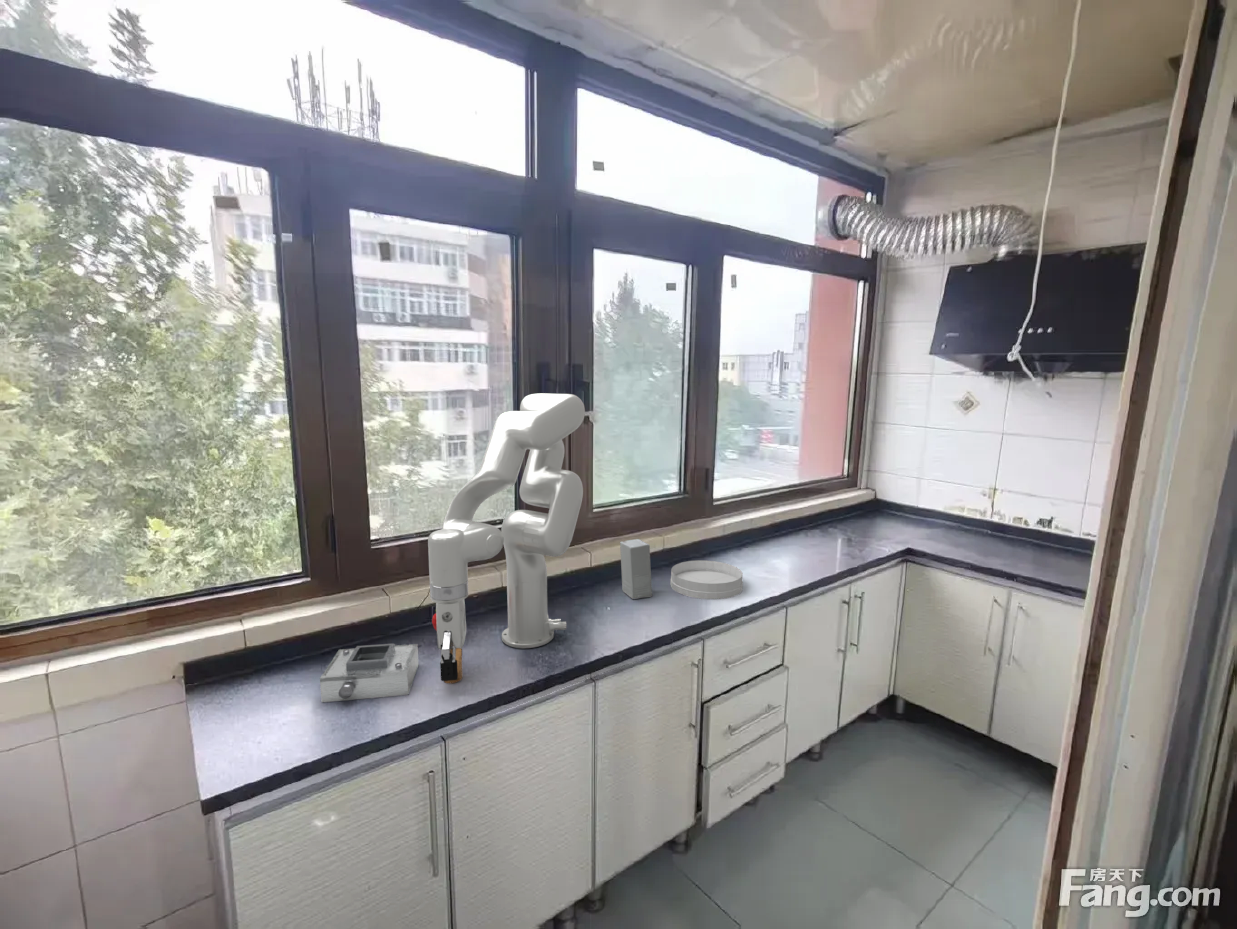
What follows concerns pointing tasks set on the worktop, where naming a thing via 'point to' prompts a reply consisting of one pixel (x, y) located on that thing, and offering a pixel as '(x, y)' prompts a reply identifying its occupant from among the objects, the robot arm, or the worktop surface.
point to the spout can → (459, 665)
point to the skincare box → (636, 568)
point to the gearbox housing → (370, 672)
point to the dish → (706, 579)
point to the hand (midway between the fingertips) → (452, 668)
